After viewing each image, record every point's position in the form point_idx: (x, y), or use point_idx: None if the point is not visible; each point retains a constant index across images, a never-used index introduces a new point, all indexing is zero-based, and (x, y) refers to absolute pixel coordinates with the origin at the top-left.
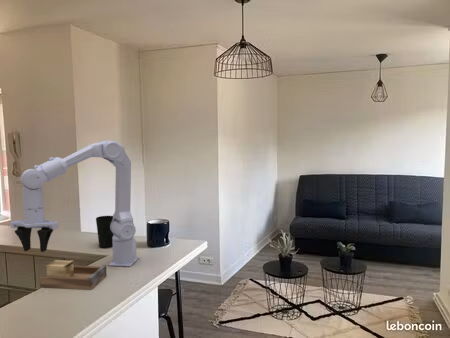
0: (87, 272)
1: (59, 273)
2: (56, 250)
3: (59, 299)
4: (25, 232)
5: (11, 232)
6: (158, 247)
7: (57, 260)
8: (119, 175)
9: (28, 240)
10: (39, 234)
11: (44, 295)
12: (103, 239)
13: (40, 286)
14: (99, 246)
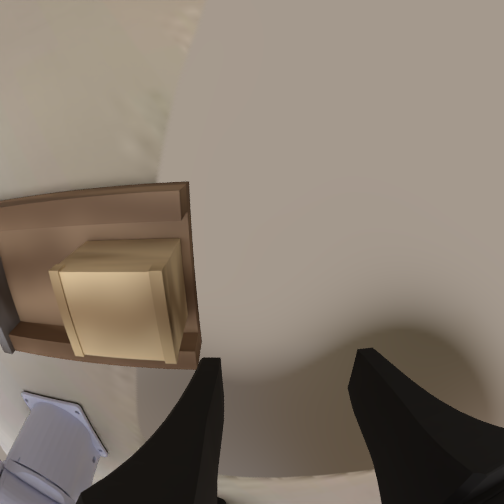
0: (61, 328)
1: (98, 253)
2: (339, 473)
3: (39, 90)
4: (422, 491)
5: None
6: None
7: (161, 357)
8: None
9: (377, 438)
10: (168, 498)
11: (112, 102)
12: None
13: (185, 182)
14: (220, 500)
